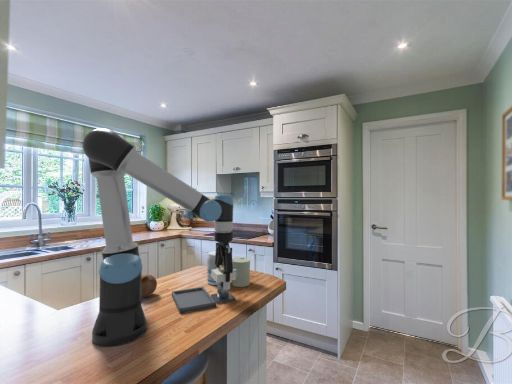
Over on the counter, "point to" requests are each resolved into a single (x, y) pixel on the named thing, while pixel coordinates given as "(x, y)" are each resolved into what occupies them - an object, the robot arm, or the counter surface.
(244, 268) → the can
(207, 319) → the counter surface
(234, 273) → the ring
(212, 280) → the supplement tub
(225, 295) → the metal post stand
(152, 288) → the onion
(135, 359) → the counter surface
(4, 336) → the counter surface
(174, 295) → the tray
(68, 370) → the counter surface
